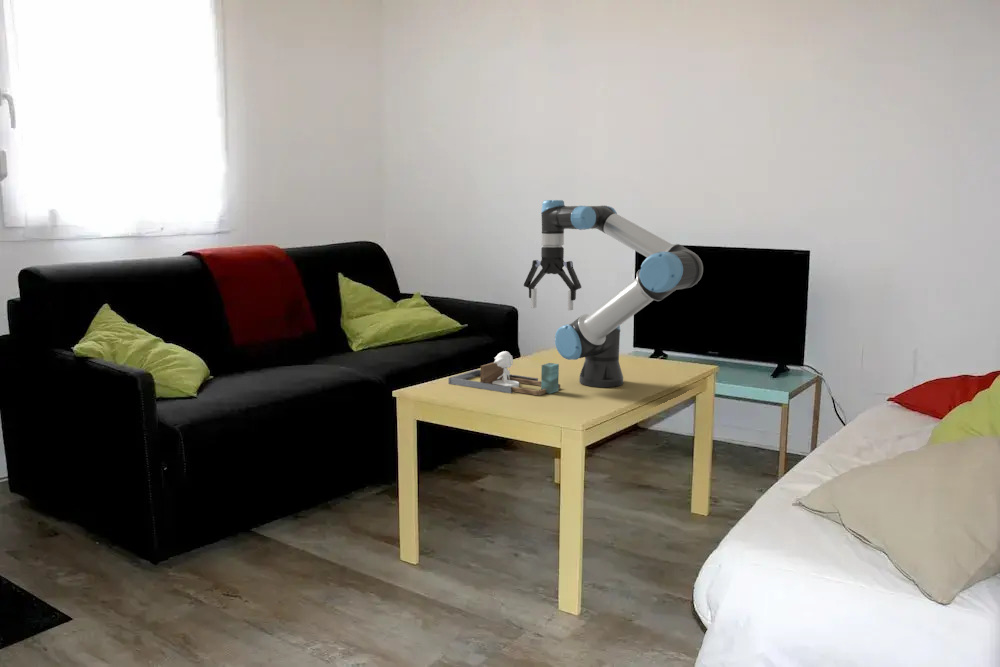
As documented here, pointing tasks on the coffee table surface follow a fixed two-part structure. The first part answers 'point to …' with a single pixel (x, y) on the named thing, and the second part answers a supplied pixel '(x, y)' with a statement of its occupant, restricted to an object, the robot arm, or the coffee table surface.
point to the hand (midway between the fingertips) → (552, 308)
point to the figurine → (505, 369)
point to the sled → (547, 379)
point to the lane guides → (501, 388)
